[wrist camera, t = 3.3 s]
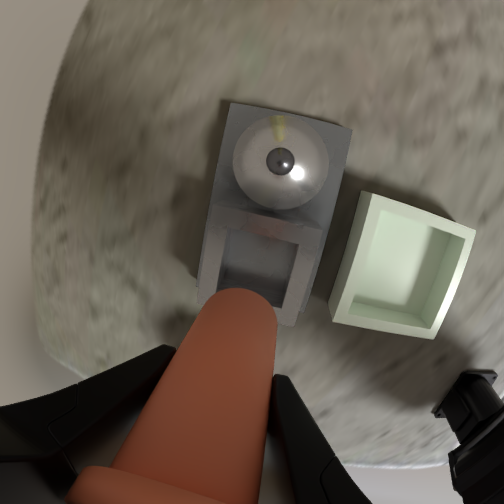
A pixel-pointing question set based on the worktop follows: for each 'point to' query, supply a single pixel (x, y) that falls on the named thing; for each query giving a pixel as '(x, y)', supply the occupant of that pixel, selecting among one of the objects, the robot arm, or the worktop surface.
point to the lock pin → (199, 416)
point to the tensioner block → (271, 206)
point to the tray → (399, 268)
